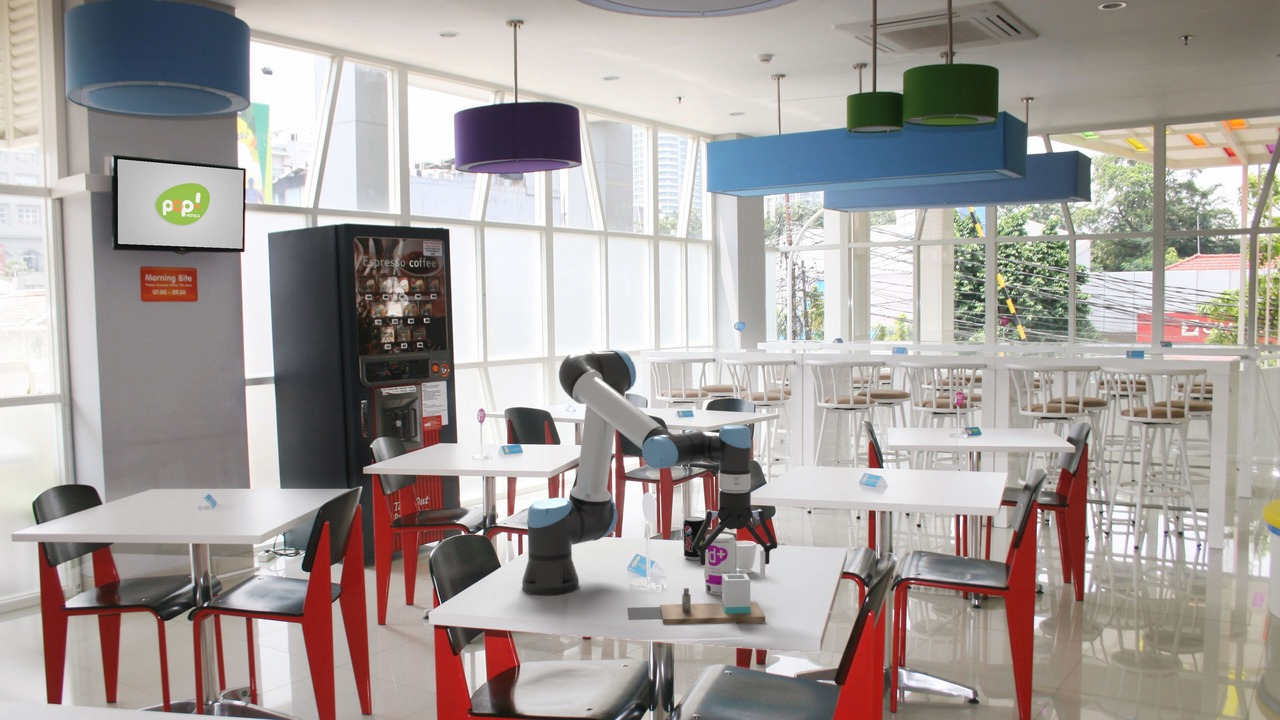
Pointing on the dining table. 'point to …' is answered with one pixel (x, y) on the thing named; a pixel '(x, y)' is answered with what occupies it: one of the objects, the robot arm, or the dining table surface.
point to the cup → (745, 555)
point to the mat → (644, 613)
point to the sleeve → (735, 593)
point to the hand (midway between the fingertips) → (734, 577)
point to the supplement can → (721, 561)
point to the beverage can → (692, 536)
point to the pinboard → (706, 613)
